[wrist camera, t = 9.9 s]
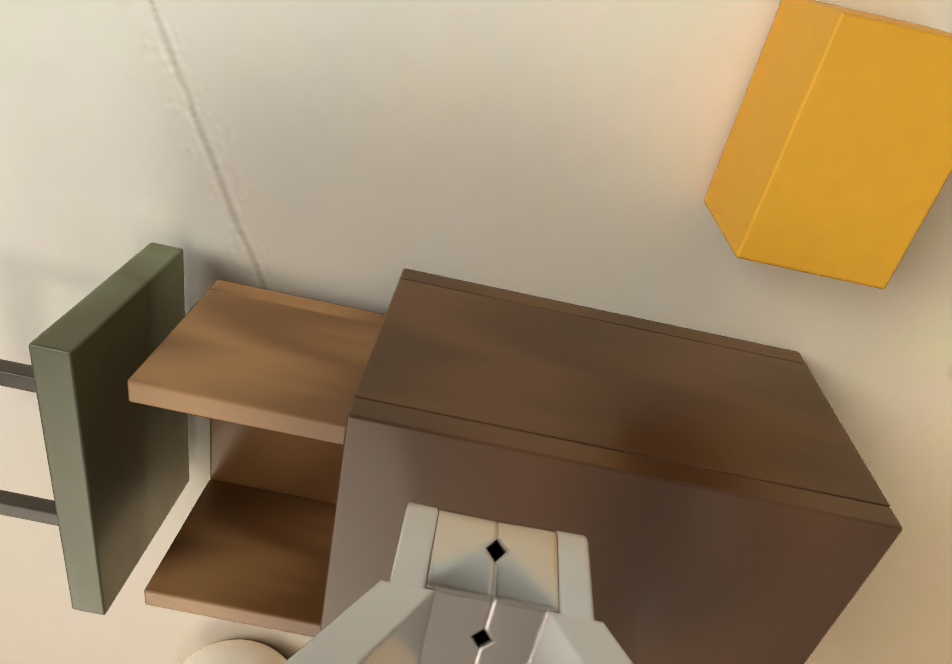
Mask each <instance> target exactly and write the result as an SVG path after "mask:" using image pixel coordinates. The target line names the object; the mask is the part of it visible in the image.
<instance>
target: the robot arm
mask: <svg viewBox="0 0 952 664" xmlns="http://www.w3.org/2000/svg"><path fill="white" fill-rule="evenodd" d="M283 664H633V662H632V661H631V659H630V658H629V657H628V655H627V654H626V653H625V651H624V650H623V648H622V647H621V646H620V644H619V643H618V642H617V640H616V639H615V637H614V636H613V635H612V633H611V632H610V630H609V629H608V628H607V626H606V625H605V624H604V622H600V621H596V620H595V619H594V607H593V595H592V583H591V570H590V558H589V546H588V540H587V538H586V536H583V535H578V534H572V533H567V532H561V531H554V530H550V529H545V528H539V527H534V526H528V525H523V524H517V523H512V522H506V521H501V520H493V519H488V518H484V517H479V516H474V515H470V514H465V513H461V512H456V511H451V510H447V509H442V508H439V512H438V508H435V507H430V506H425V505H421V504H416V503H412V502H409V504H408V506H407V509H406V512H405V517H404V521H403V525H402V530H401V534H400V538H399V543H398V547H397V552H396V556H395V560H394V565H393V569H392V573H391V578H390V582H389V581H383V580H380V581H379V582H378V583H377V584H376V585H374V586H373V587H372V588H371V589H370V590H369V591H367V592H366V593H365V594H364V595H363V596H362V597H360V598H359V599H358V600H357V601H356V602H355V603H353V604H352V605H351V606H350V607H349V608H348V609H346V610H345V611H344V612H343V613H342V614H341V615H339V616H338V617H337V618H336V619H335V620H334V621H332V622H331V623H330V624H329V625H328V626H327V627H325V628H324V629H323V630H322V631H321V632H320V633H318V634H317V635H316V636H315V637H314V638H313V639H311V640H310V641H309V642H308V643H307V644H306V645H304V646H303V647H302V648H301V649H300V650H299V651H297V652H296V653H295V654H294V655H293V656H292V657H290V658H289V659H288V660H287V661H286V662H285V663H283Z"/></svg>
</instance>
